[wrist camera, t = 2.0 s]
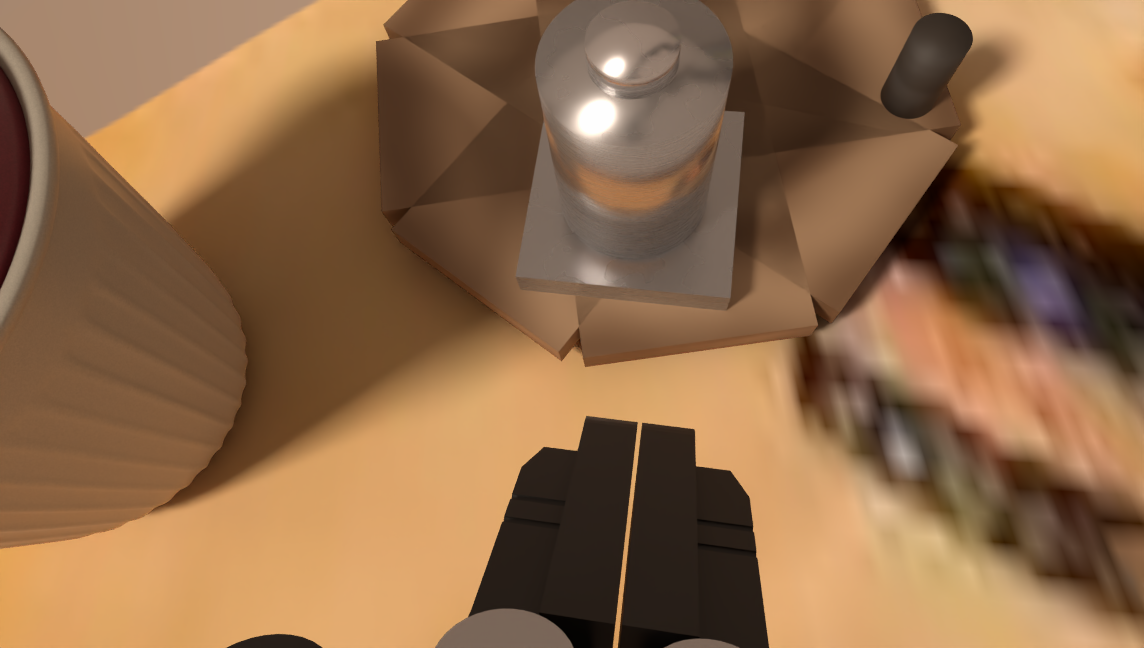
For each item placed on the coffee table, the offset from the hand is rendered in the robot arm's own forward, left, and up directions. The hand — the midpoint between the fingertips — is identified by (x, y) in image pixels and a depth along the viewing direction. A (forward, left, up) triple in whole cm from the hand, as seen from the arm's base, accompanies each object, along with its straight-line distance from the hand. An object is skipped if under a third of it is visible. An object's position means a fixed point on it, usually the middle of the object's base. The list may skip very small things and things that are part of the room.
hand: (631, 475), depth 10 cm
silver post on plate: (-12, -9, -19) cm, 24 cm away
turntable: (-18, -12, -20) cm, 29 cm away
